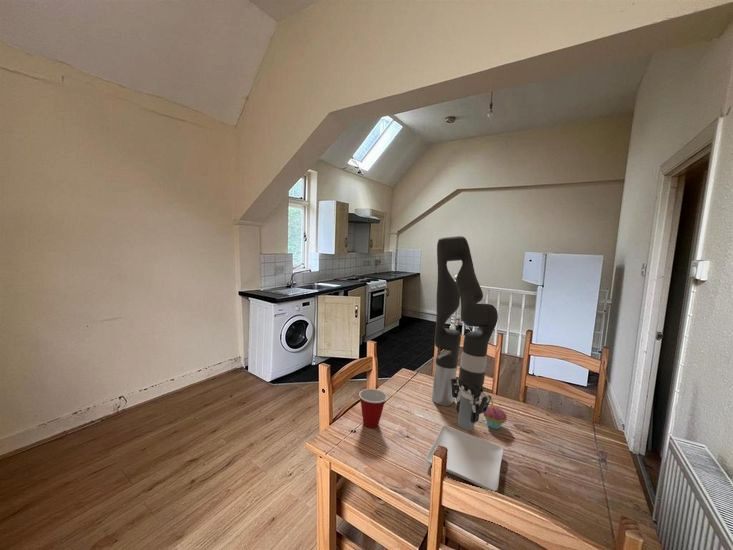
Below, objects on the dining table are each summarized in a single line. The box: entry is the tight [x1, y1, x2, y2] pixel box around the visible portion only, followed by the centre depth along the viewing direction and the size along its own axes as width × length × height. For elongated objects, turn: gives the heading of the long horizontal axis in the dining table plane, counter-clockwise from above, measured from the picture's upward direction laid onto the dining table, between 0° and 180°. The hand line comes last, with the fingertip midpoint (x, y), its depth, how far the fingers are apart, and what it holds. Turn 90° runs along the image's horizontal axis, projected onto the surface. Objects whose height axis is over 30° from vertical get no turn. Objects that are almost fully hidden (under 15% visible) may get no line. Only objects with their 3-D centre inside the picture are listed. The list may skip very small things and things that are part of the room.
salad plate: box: [425, 424, 504, 492], centre depth 97 cm, size 21×21×3 cm
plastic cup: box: [358, 388, 388, 429], centre depth 112 cm, size 11×11×12 cm
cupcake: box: [483, 395, 508, 430], centre depth 116 cm, size 9×8×12 cm
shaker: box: [457, 389, 478, 431], centre depth 93 cm, size 5×5×12 cm
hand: (466, 417), depth 94 cm, fingers closed on shaker, 5 cm apart
